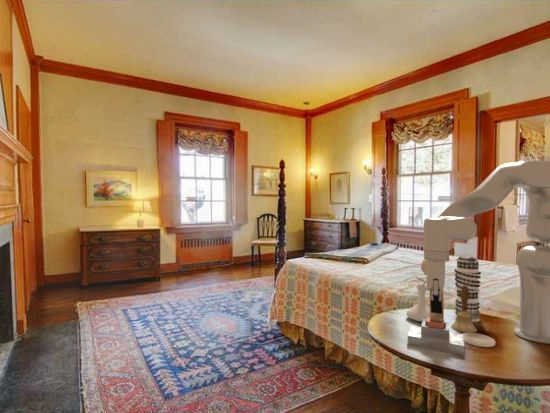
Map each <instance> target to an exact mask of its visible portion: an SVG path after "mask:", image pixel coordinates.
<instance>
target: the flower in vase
mask: <svg viewBox="0 0 550 413" xmlns="http://www.w3.org/2000/svg"><path fill="white" fill-rule="evenodd" d="M420 270H421V271H422V272H423V274H424V275H426V276H427V260H425V259H423V260H422V263H421V266H420ZM415 279H417V280H419V281H421V282H423V283H415V284H414V285H415V287H416V289H417V292H418V302H417V303H416V304H415V305H414V306H412V307H411V308H409V309H408V310H407V311H406V316H407V317H408V318H409V319H411V320H413V321H416V322H419V323H420V322H421V323H422V321H423V319H427V318H428V317H430V306H428V305H427V304H426V303H427V302H426V292H427V279H426V280H425V281H424V279H423V278H422V279H421V278H419V277H417V276H415Z"/></svg>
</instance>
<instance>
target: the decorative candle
mask: <svg viewBox="0 0 550 413" xmlns="http://www.w3.org/2000/svg"><path fill="white" fill-rule="evenodd" d="M455 260H456V265H457V266H456V268H455V269H454V272H455V273H454V276H455V278H454V281H455V283H454V284H455V290H456V295H455V302H456V303H455V306H456V307H455V308H454V309H455V312H454V313H455V316H454V317H455V318H457V313H459V312H461V311H462V300H461V290H462V288H463V286H467V289H468V292H469V298H468V301H467V313H468V314H470V315H471V320H472V323H477V322H480V313H481V312H480V310H479V309H480V308H481V307H480V297H479V292H480V289H479V288H481V285H480V283H481V281H480V280H479V279H481V278H482V276H480V275H482V272H480V268H479V266H480V265H479V264H480V261H479V260H478V258H476V257H475V256H471V255H459V257H457V258H456V259H455Z"/></svg>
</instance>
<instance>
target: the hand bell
mask: <svg viewBox="0 0 550 413" xmlns="http://www.w3.org/2000/svg"><path fill="white" fill-rule="evenodd" d="M468 298H469V292H468V289H467V286H463V288H462V290H461V300H462V311H461V312H459V313H457V318H456V317H455V318H456V319H455V321H454V322H453V323H452V324H451V325H450V327H451V328H452V329H454V330H455V331H458V332H462V333H477V331H478V329H477V328H476V327H475V326H474V323H473V322H472V320H471V315H470V314H468V313H467V301H468Z"/></svg>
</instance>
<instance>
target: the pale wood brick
mask: <svg viewBox="0 0 550 413" xmlns="http://www.w3.org/2000/svg"><path fill="white" fill-rule="evenodd" d="M444 289H445V288H444ZM444 289H443V292H441V301H442V314H438V313H432V312H431V296H432V292H431V291H432V288H431V290H429V308H430V320H435V321H442V322H443V321H444V322H445V318H444V317H445V315H444V314H445V313H444V312H445V311H444V310H445V308H444V307H445V305H444V303H445V302H444V301H445V300H444V297H445V296H444V294H445V293H444V292H445V290H444ZM433 291H434V289H433ZM438 291H440V290H439V289H438ZM433 294H434V293H433ZM438 294H439V293H438Z"/></svg>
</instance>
